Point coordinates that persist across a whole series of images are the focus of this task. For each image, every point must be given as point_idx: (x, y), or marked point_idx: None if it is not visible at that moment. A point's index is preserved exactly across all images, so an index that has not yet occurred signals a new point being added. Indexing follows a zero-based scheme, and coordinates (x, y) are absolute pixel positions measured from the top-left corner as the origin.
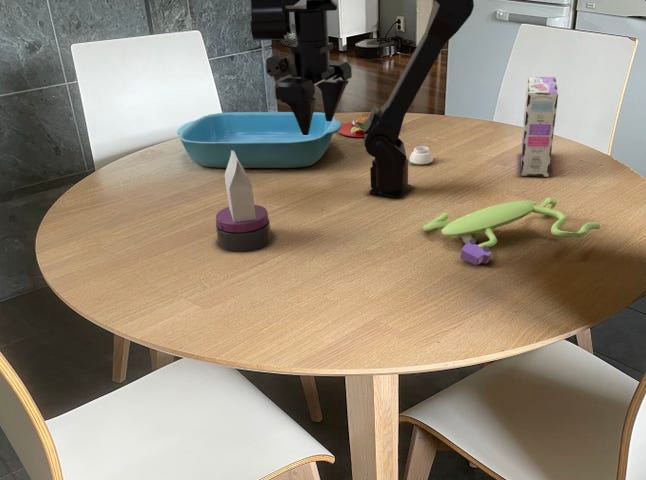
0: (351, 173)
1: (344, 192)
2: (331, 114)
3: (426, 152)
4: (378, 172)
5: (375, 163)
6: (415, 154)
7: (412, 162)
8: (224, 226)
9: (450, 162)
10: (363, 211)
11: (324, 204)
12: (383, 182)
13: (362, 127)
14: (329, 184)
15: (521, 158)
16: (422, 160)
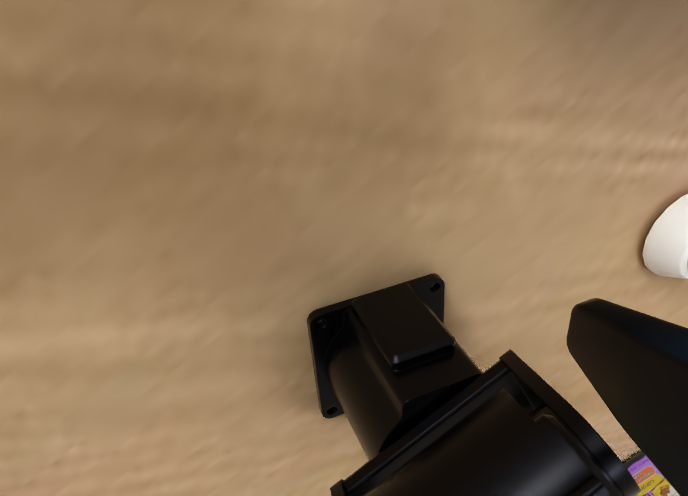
0: (513, 65)
1: (277, 210)
2: (620, 408)
3: None
4: (364, 409)
5: (396, 413)
6: (683, 247)
7: (653, 226)
8: None
9: (674, 302)
10: (137, 413)
11: (78, 242)
12: (342, 402)
13: None
14: (335, 65)
15: (648, 492)
16: (656, 266)
